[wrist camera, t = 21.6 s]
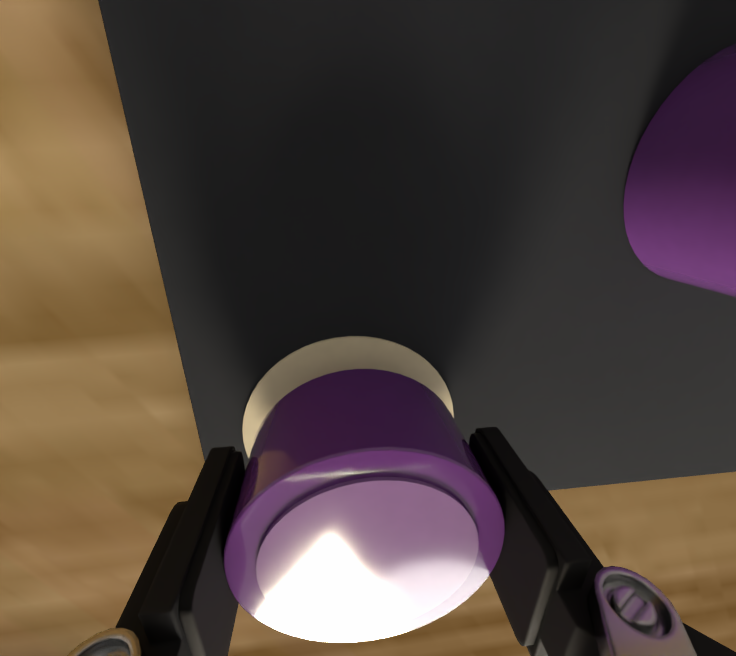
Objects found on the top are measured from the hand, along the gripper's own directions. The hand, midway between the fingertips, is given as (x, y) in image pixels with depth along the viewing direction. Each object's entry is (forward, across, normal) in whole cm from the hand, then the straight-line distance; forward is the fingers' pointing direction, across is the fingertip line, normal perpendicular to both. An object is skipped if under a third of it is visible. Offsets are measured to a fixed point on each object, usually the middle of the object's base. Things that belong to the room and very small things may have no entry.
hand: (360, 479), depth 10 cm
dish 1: (+1, 0, 0) cm, 1 cm away
